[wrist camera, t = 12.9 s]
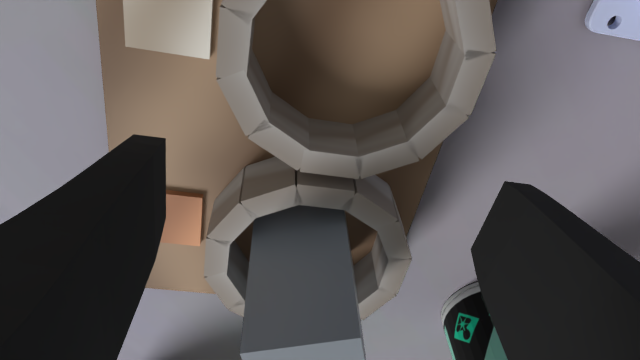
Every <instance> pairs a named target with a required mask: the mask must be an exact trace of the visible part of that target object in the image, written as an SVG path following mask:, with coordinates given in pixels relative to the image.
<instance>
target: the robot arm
mask: <svg viewBox="0 0 640 360" xmlns="http://www.w3.org/2000/svg"><path fill="white" fill-rule="evenodd" d="M613 16H616V19H615V21H614V22H613V24H611V25H609V26H607V24H608V21H609V20H610V18H612V17H613ZM585 25H586V27H587V28H588V29H589V30H591V31H593V32H595V33H600V34H605V35H611V36H616V37H622V38H627V39H633V40H638V41H640V0H594V1H593V3H592V5H591V7H590V9H589V11H588V13H587V15H586V18H585ZM165 220H166V138H160V137H152V136H144V135H136V134H133V135H132V136H131V137H129V138H128V139H126V140H125V141H124V142H122V143H121V144H119V145H118V146H117V147H115V148H114V149H113V150H111V151H110V152H109V153H107V154H106V155H105V156H103V157H102V158H101V159H99V160H98V161H96V162H95V163H94V164H92V165H91V166H90V167H88V168H87V169H86V170H84V171H83V172H81V173H80V174H79V175H77V176H76V177H74V178H73V179H71V180H70V181H69V182H67V183H66V184H64V185H63V186H61V187H60V188H59V189H57V190H55V191H54V192H52V193H51V194H49V195H48V196H46V197H44V198H43V199H41V200H40V201H38V202H36V203H35V204H33V205H32V206H30V207H29V208H27V209H25V210H24V211H22V212H21V213H19V214H18V215H16V216H14V217H12V218H11V219H9V220H7V221H6V222H4V223H2V224H0V360H117V357H118V355H119V352H120V350H121V347H122V345H123V342H124V340H125V337H126V335H127V332H128V330H129V327H130V324H131V322H132V319H133V317H134V314H135V312H136V309H137V307H138V304H139V302H140V299H141V297H142V294H143V291H144V289H145V286H146V284H147V281H148V279H149V276H150V273H151V271H152V268H153V265H154V263H155V260H156V256H157V253H158V249H159V245H160V241H161V237H162V233H163V228H164V224H165ZM471 252H472V257H473V262H474V266H475V271H476V275H477V279H478V283H479V287H480V290H481V293H482V296H483V299H484V301H485V304H486V306H487V309H488V311H489V314H490V317H491V319H492V322H493V324H494V327H495V329H496V332H497V334H498V337H499V339H500V342H501V344H502V347H503V349H504V352H505V354H506V357H507V359H508V360H640V262H639V261H637V260H636V259H635V258H633V257H632V256H630V255H629V254H628V253H626V252H625V251H623V250H622V249H621V248H619V247H618V246H616V245H615V244H614V243H612V242H611V241H610V240H608V239H607V238H606V237H604V236H603V235H602V234H600V233H599V232H598V231H596V230H595V229H593V228H592V227H591V226H589V225H588V224H587V223H585V222H584V221H583V220H581V219H580V218H579V217H577V216H576V215H575V214H573V213H572V212H571V211H569V210H568V209H566V208H565V207H564V206H562V205H561V204H560V203H558V202H557V201H555V200H554V199H552V198H551V197H550V196H548V195H547V194H545V193H544V192H542V191H540V190H539V189H537V188H535V187H534V186H532V185H529V184H521V183H514V182H506V181H505V182H504V184H503V186H502V188H501V190H500V192H499V194H498V196H497V198H496V200H495V202H494V204H493V206H492V208H491V210H490V212H489V214H488V216H487V218H486V220H485V222H484V224H483V226H482V228H481V230H480V232H479V234H478V236H477V238H476V240H475V242H474V244H473V246H472V248H471Z"/></svg>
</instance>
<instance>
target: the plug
mask: <svg viewBox="0 0 640 360" xmlns="http://www.w3.org/2000/svg"><path fill="white" fill-rule="evenodd" d="M240 356H241V358H242V360H366V356H365V349H364V341H363V334H362V327H361V319H360V312H359V305H358V297H357V290H356V283H355V275H354V268H353V261H352V253H351V247H350V240H349V234H348V228H347V222H346V215H345V210H339V209H330V208H322V207H313V206H304V205H297V206H294V207H290V208H287V209H284V210H281V211H277V212H274V213H271V214H268V215H264V216H261V217H258V218H255V220H254V223H253V233H252V242H251V251H250V261H249V270H248V280H247V289H246V298H245V308H244V317H243V327H242V336H241V345H240Z"/></svg>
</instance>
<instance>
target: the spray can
mask: <svg viewBox="0 0 640 360" xmlns="http://www.w3.org/2000/svg"><path fill="white" fill-rule="evenodd" d="M441 319H442V324H443V328H444V331H445V335H446V338H447V341H448V345H449V348H450V351H451V355H452V358H453V360H508V359H507V357H506V354H505V352H504V349H503V347H502V344H501V342H500V339H499V337H498V334H497V332H496V329H495V327H494V324H493V322H492V319H491V317H490V314H489V311H488V309H487V306H486V304H485V301H484V299H483V296H482V293H481V290H480V287H479V283H478V282H476V283H473V284H471V285H468V286H466V287H464V288H462V289H460V290H459V291H457V292H456V293H454V294H453V295H452V296H451V297H450V298H449V299H448V300H447V301H446V303H445V304H444V306H443V309H442V311H441Z"/></svg>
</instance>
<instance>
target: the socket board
mask: <svg viewBox="0 0 640 360" xmlns="http://www.w3.org/2000/svg"><path fill="white" fill-rule="evenodd" d="M496 3H497V0H96V8H97V19H98V31H99V42H100V54H101V66H102V77H103V89H104V100H105V112H106V123H107V135H108V146H109V152H110V151H111V150H113V149H114V148H115V147H117V146H118V145H119V144H121V143H122V142H124V141H125V140H126V139H128V138H129V137H131V136H132V135H133V134H136V135H144V136H152V137H160V138H166V220H165V224H164V228H163V233H162V237H161V241H160V245H159V249H158V253H157V256H156V260H155V263H154V265H153V268H152V271H151V273H150V276H149V279H148V281H147V284H146V286H145V288H153V289H165V290H176V291H188V292H199V293H211V294H217V296H218V297H219V299H220V300H221V301H222V303H223V304H224V305H225V307H226V308H227V309H229V310H230V311H232V312H234V313H236V314H238V315H240V316H242V317H244V308H245V298H246V289H247V280H248V270H249V261H250V251H251V242H252V233H253V223H254V220H255V218H258V217H261V216H264V215H268V214H271V213H274V212H277V211H281V210H284V209H287V208H290V207H294V206H297V205H304V206H313V207H322V208H330V209H339V210H345V215H346V222H347V228H348V234H349V240H350V247H351V253H352V261H353V268H354V275H355V283H356V290H357V297H358V305H359V312H360V319H362V320H364V319H365V318H367V317H368V316H369V315H371V314H372V313H373V312H375V311H376V310H377V309H379V308H380V307H381V306H383V305H384V304H386V303H387V302H388V301H390V300H391V299H392V298H394V297H395V296H396V294H398V292H399V289H400V287H401V284H402V282H403V279H404V277H405V275H406V272H407V270H408V267H409V265H410V262H411V260H412V259H411V258H412V257H411V254H410V250H409V246H408V243H407V239H406V236H407V233H408V231H409V228H410V226H411V223H412V221H413V218H414V215H415V213H416V210H417V208H418V205H419V202H420V200H421V197H422V195H423V192H424V189H425V187H426V184H427V182H428V179H429V176H430V174H431V171H432V169H433V166H434V164H435V161H436V158H437V156H438V153H439V151H440V148H441V145H442V143H443V140H444V139H446V138H447V137H448V136H449V135H450V134H451V133H452V132H453V131H455V130H456V129H457V128H458V127H459V126H460V125H461V124H462V123H464V122H465V121H466V120H467V119H468V118H469V117H468V115H471V114H472V111H473V109H474V106H475V104H476V101H477V99H478V96H479V94H480V92H481V89H482V87H483V84H484V82H485V79H486V77H487V75H488V72H489V70H490V67H491V65H492V62H493V60H494V57H495V55H496V54H495V52H494V51H496V45H495V38H494V31H493V23H492V13H493V11H494V8H495V5H496Z"/></svg>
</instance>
